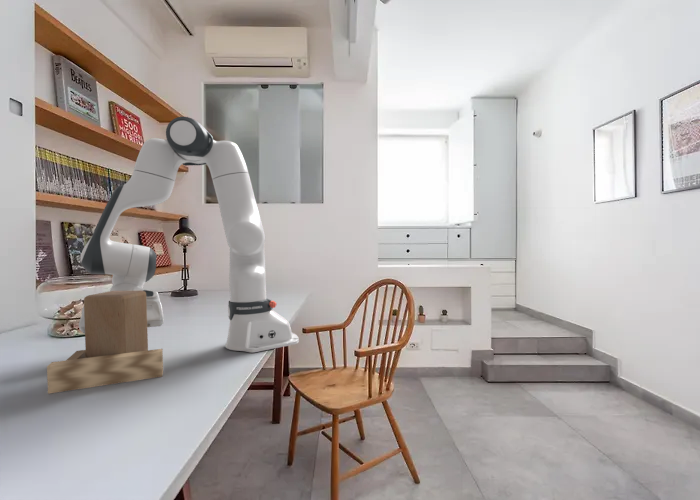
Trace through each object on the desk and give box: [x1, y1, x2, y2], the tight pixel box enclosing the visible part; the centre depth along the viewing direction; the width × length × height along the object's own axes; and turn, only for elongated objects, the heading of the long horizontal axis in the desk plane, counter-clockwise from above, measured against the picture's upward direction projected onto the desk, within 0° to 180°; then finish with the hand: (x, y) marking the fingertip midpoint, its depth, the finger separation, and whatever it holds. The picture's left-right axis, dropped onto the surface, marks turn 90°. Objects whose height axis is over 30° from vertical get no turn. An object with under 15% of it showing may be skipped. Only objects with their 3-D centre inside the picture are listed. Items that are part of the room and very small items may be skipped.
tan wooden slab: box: [46, 348, 164, 395], centre depth 86 cm, size 22×11×6 cm, turn 114°
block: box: [83, 290, 149, 358], centre depth 90 cm, size 10×10×20 cm
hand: (120, 341), depth 96 cm, fingers closed
